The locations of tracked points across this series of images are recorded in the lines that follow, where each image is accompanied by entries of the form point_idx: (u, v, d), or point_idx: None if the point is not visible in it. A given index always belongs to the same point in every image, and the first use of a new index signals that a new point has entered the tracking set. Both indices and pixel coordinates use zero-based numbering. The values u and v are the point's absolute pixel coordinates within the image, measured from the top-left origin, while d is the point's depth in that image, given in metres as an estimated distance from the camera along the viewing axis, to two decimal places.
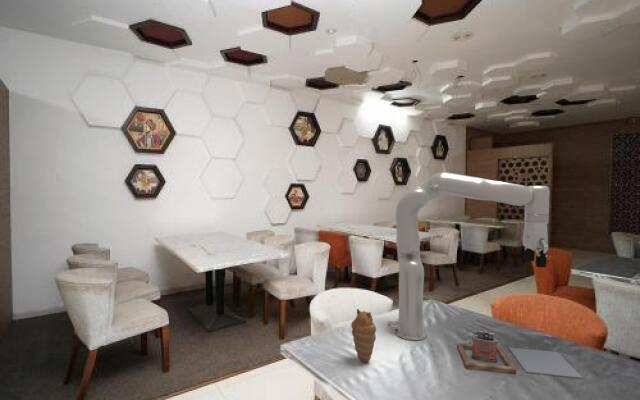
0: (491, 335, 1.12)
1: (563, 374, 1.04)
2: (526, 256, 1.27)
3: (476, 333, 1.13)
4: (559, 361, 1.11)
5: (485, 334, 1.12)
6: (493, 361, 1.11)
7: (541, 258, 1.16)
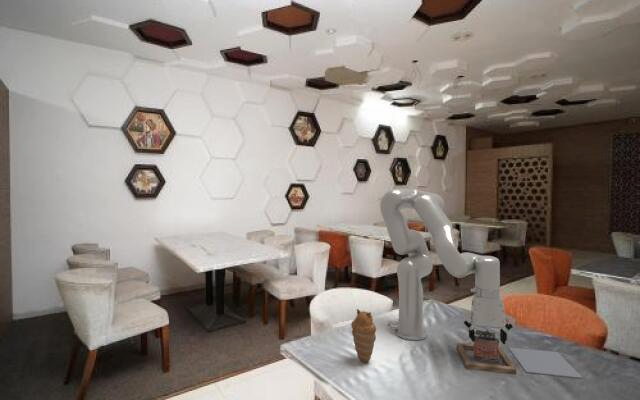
0: (492, 335, 1.12)
1: (563, 374, 1.04)
2: None
3: (477, 333, 1.13)
4: (559, 361, 1.11)
5: (486, 334, 1.12)
6: (495, 361, 1.11)
7: None
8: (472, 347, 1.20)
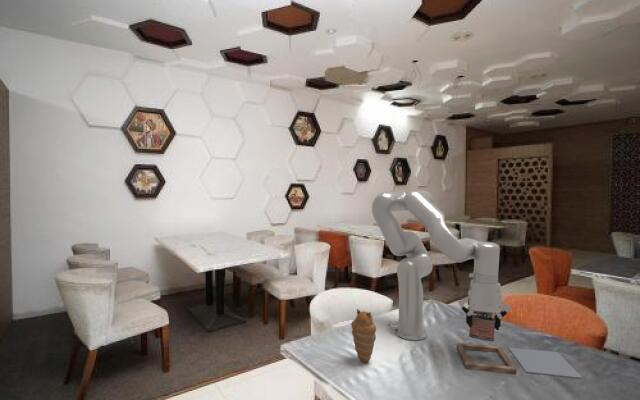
0: (490, 314, 1.12)
1: (563, 374, 1.04)
2: None
3: (475, 312, 1.14)
4: (559, 361, 1.11)
5: (484, 313, 1.12)
6: (490, 340, 1.12)
7: None
8: (472, 347, 1.20)
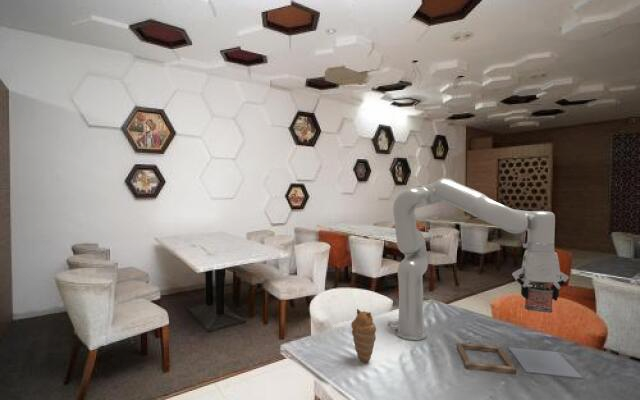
0: (547, 285, 1.09)
1: (563, 374, 1.04)
2: (527, 293, 1.10)
3: (530, 283, 1.11)
4: (559, 361, 1.11)
5: (540, 284, 1.09)
6: (548, 311, 1.09)
7: None
8: (472, 347, 1.20)
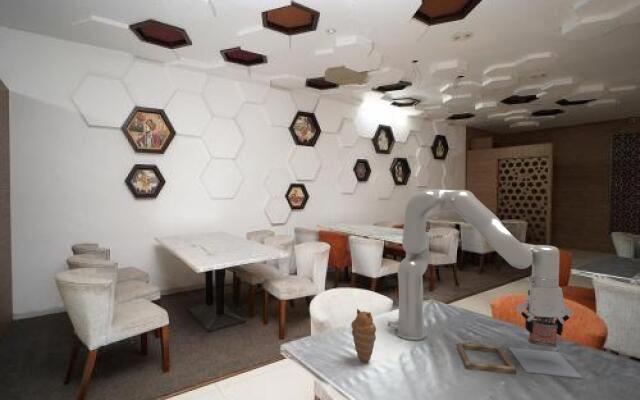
0: (551, 319, 1.09)
1: (563, 374, 1.04)
2: None
3: (535, 317, 1.11)
4: (559, 361, 1.11)
5: (545, 318, 1.10)
6: (553, 345, 1.09)
7: None
8: (472, 347, 1.20)
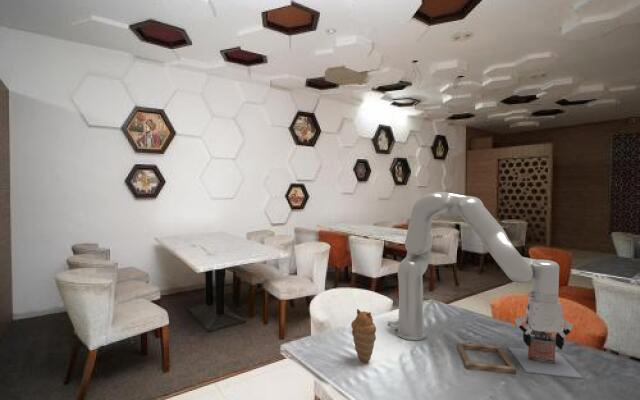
0: (549, 335, 1.10)
1: (563, 374, 1.04)
2: None
3: (533, 333, 1.12)
4: (559, 361, 1.11)
5: (542, 334, 1.11)
6: (551, 362, 1.10)
7: None
8: (472, 347, 1.20)
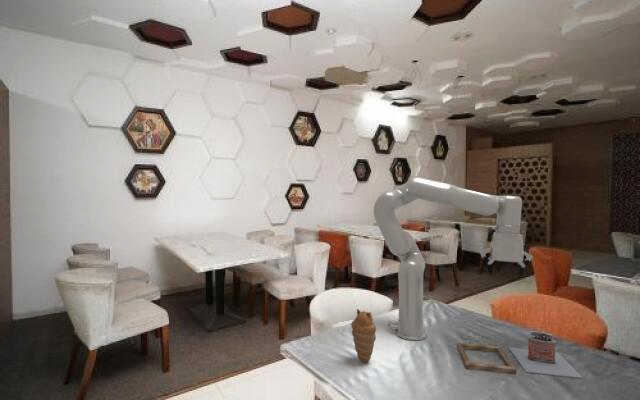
0: (549, 336, 1.10)
1: (563, 374, 1.04)
2: None
3: (533, 334, 1.12)
4: (559, 361, 1.11)
5: (543, 335, 1.11)
6: (551, 362, 1.10)
7: None
8: (472, 347, 1.20)
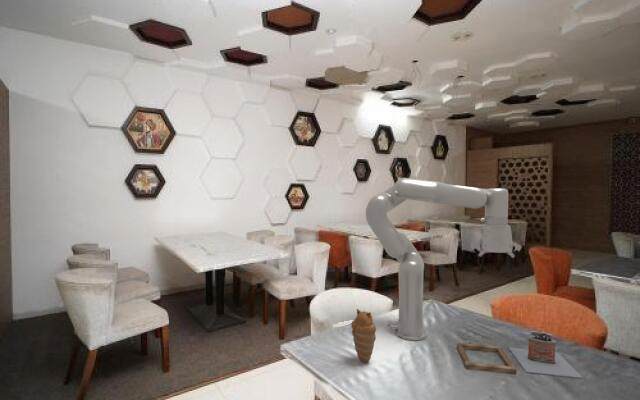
0: (549, 336, 1.10)
1: (563, 374, 1.04)
2: (482, 262, 1.21)
3: (533, 334, 1.12)
4: (559, 361, 1.11)
5: (543, 335, 1.11)
6: (551, 362, 1.10)
7: None
8: (472, 347, 1.20)
